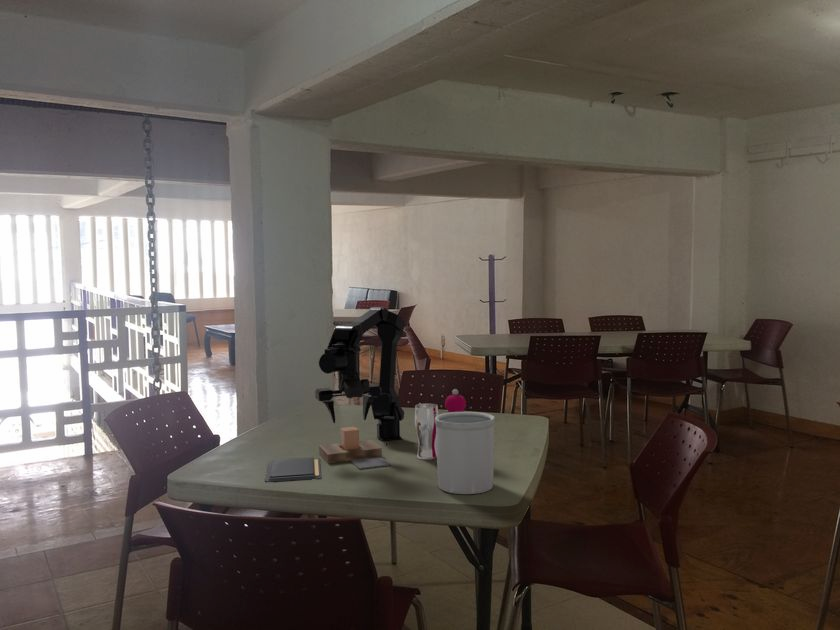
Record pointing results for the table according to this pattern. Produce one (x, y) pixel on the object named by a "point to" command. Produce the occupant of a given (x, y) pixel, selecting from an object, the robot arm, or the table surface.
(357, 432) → the block
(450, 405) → the pepper mill
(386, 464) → the pad
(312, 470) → the dark blue flat slab
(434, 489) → the table surface
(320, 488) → the table surface
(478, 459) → the utensil holder
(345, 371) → the robot arm
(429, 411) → the beer glass
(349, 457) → the pocket board
